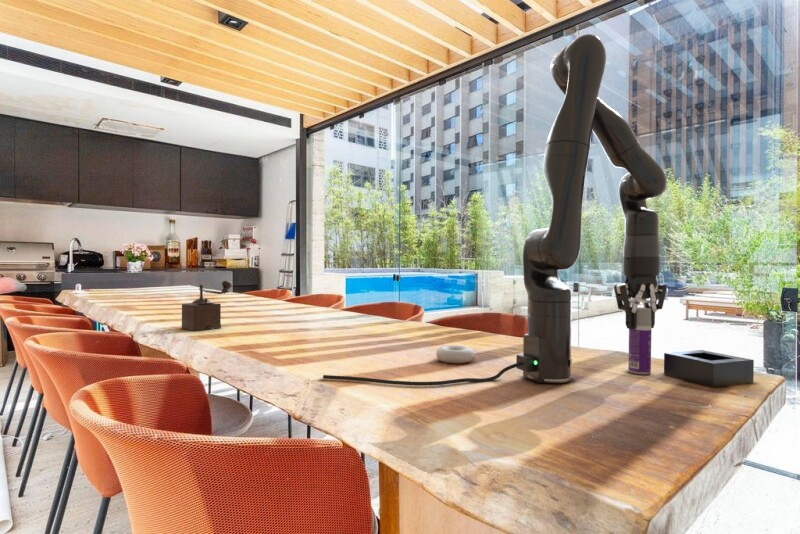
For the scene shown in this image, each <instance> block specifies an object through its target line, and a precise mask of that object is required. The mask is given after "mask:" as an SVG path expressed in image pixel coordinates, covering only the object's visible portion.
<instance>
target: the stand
mask: <svg viewBox="0 0 800 534" xmlns="http://www.w3.org/2000/svg"><path fill="white" fill-rule="evenodd" d="M754 362H755V360H754V359H752V358H746V357H741V356H735V355H732V354H731V355H730V354H725V353H721V352H715V351H711V350H706V349H705V350H704V349H698V350H685V351H684V350H683V351H674V352H664V353H663V375H665V376H668V377H672V378H674V379H675V378H676V379H679V380H684V381H687V382H691V383H695V384H698V385H703V386H706V387H710V388H720V387H729V386H738V385H745V384H746V385H748V384H753V383H754V368H755V365H754V364H755V363H754Z"/></svg>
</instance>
